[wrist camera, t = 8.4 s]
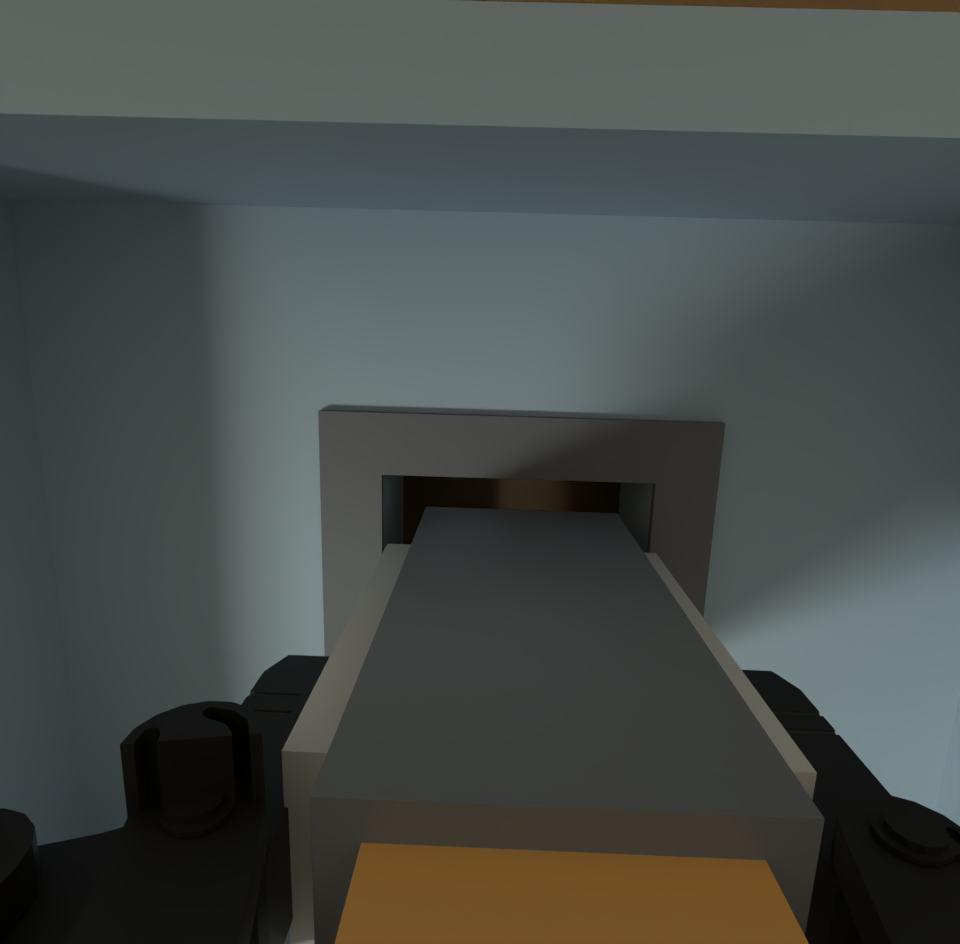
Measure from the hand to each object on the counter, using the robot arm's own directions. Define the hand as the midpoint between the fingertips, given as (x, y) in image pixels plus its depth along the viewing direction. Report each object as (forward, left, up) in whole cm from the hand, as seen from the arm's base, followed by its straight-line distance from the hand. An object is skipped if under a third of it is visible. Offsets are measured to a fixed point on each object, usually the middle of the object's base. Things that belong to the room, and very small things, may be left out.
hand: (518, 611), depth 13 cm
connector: (0, 0, -1) cm, 1 cm away
